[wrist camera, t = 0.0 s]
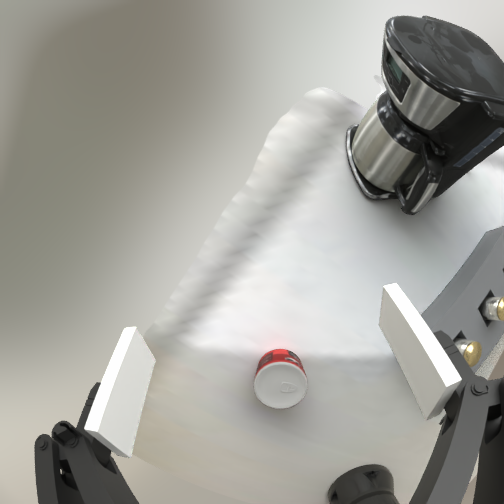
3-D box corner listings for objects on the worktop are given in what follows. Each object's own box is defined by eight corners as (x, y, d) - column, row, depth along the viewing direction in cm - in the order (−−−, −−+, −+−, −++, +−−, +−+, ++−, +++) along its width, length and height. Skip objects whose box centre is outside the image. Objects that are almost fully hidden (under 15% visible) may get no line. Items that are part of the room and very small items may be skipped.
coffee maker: (323, 140, 53) (355, 6, 20) (418, 99, 53) (471, 9, 20) (385, 232, 49) (501, 158, 16) (471, 171, 49) (555, 105, 16)
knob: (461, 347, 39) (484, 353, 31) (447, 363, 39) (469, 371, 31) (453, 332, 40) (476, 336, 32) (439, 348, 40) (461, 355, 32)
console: (512, 282, 44) (532, 280, 36) (432, 388, 43) (451, 399, 35) (486, 232, 46) (506, 224, 39) (399, 337, 46) (418, 344, 38)
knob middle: (490, 308, 39) (513, 308, 32) (480, 323, 39) (503, 325, 32) (483, 292, 40) (506, 291, 32) (472, 308, 40) (495, 308, 32)
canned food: (304, 383, 46) (310, 405, 35) (261, 389, 47) (256, 412, 36) (299, 344, 47) (305, 358, 37) (255, 350, 48) (249, 366, 37)
